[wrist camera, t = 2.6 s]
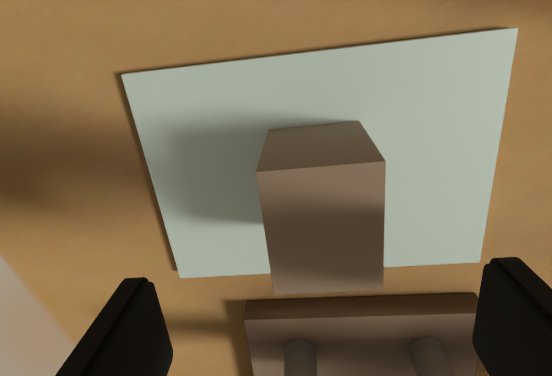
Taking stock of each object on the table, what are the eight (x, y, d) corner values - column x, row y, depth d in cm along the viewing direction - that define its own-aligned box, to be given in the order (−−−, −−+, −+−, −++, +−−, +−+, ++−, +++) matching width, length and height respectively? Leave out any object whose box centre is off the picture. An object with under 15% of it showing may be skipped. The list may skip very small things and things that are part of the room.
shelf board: (186, 264, 20) (143, 355, 15) (133, 71, 16) (41, 95, 10) (469, 248, 19) (542, 343, 13) (501, 27, 14) (635, 27, 8)
